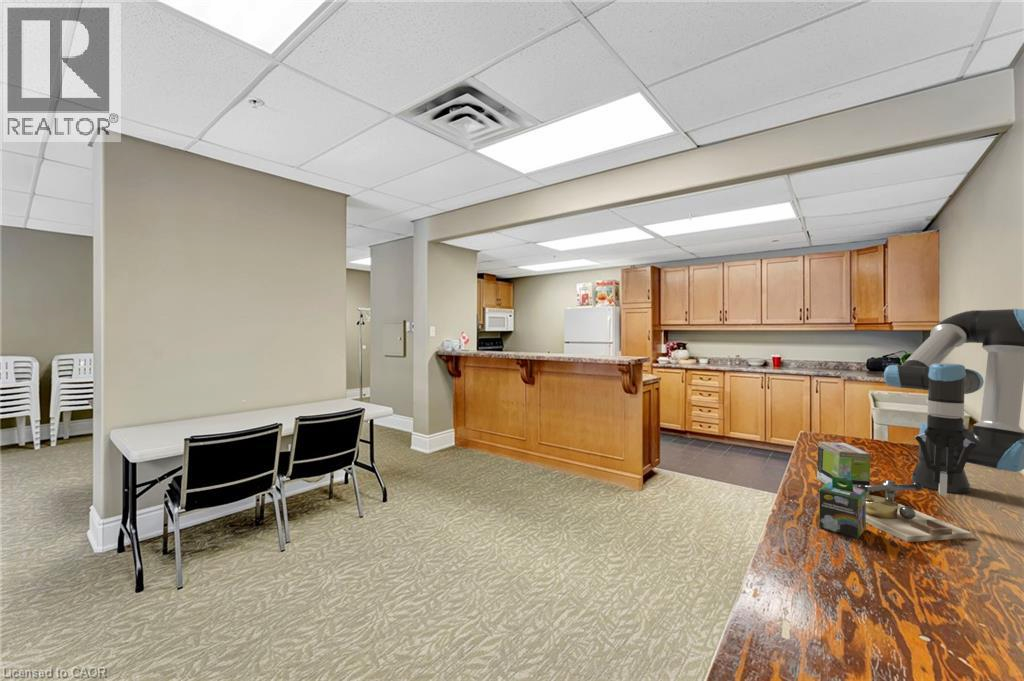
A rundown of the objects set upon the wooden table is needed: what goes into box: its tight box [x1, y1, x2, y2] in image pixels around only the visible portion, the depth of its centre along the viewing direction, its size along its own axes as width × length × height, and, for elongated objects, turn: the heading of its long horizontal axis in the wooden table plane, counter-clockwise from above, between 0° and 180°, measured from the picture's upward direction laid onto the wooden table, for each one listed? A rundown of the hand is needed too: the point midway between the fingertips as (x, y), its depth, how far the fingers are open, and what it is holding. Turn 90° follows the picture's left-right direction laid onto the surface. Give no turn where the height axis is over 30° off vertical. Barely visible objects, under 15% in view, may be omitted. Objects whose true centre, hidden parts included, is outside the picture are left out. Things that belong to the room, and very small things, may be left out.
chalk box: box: [818, 477, 867, 540], centre depth 121 cm, size 9×9×15 cm
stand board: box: [866, 503, 972, 543], centre depth 124 cm, size 20×19×3 cm
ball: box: [899, 505, 916, 519], centre depth 124 cm, size 4×4×4 cm
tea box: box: [816, 441, 872, 495], centre depth 154 cm, size 15×10×15 cm, turn 168°
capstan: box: [857, 479, 924, 519], centre depth 129 cm, size 22×9×9 cm, turn 97°
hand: (942, 494), depth 127 cm, fingers closed
